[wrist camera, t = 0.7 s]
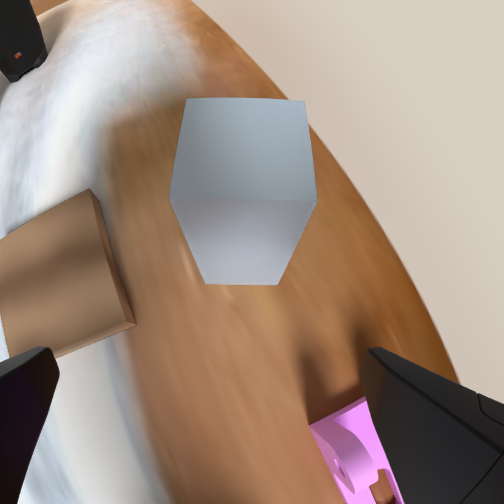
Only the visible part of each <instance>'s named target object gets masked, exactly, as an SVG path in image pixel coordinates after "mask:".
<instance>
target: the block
mask: <svg viewBox="0 0 504 504" xmlns="http://www.w3.org/2000/svg"><path fill="white" fill-rule="evenodd" d="M169 201H170V203H171V205H172V208H173V210H174V213H175V215H176V217H177V220H178V222H179V225H180V227H181V229H182V232H183V234H184V236H185V239H186V241H187V243H188V246H189V248H190V250H191V253H192V255H193V257H194V259H195V262H196V264H197V266H198V268H199V271H200V273H201V275H202V277H203V280H204V282H205V284H231V285H278V283H279V281H280V279H281V277H282V275H283V273H284V271H285V268H286V266H287V264H288V262H289V260H290V258H291V256H292V254H293V252H294V250H295V248H296V246H297V244H298V242H299V240H300V238H301V235H302V233H303V231H304V229H305V227H306V225H307V223H308V221H309V219H310V216H311V214H312V212H313V210H314V208H315V206H316V204H317V192H316V183H315V174H314V165H313V157H312V149H311V142H310V134H309V127H308V120H307V113H306V107H305V102H304V101H296V100H283V99H265V98H187V100H186V105H185V109H184V114H183V119H182V124H181V129H180V134H179V140H178V145H177V150H176V156H175V162H174V168H173V174H172V180H171V186H170V193H169Z"/></svg>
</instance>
